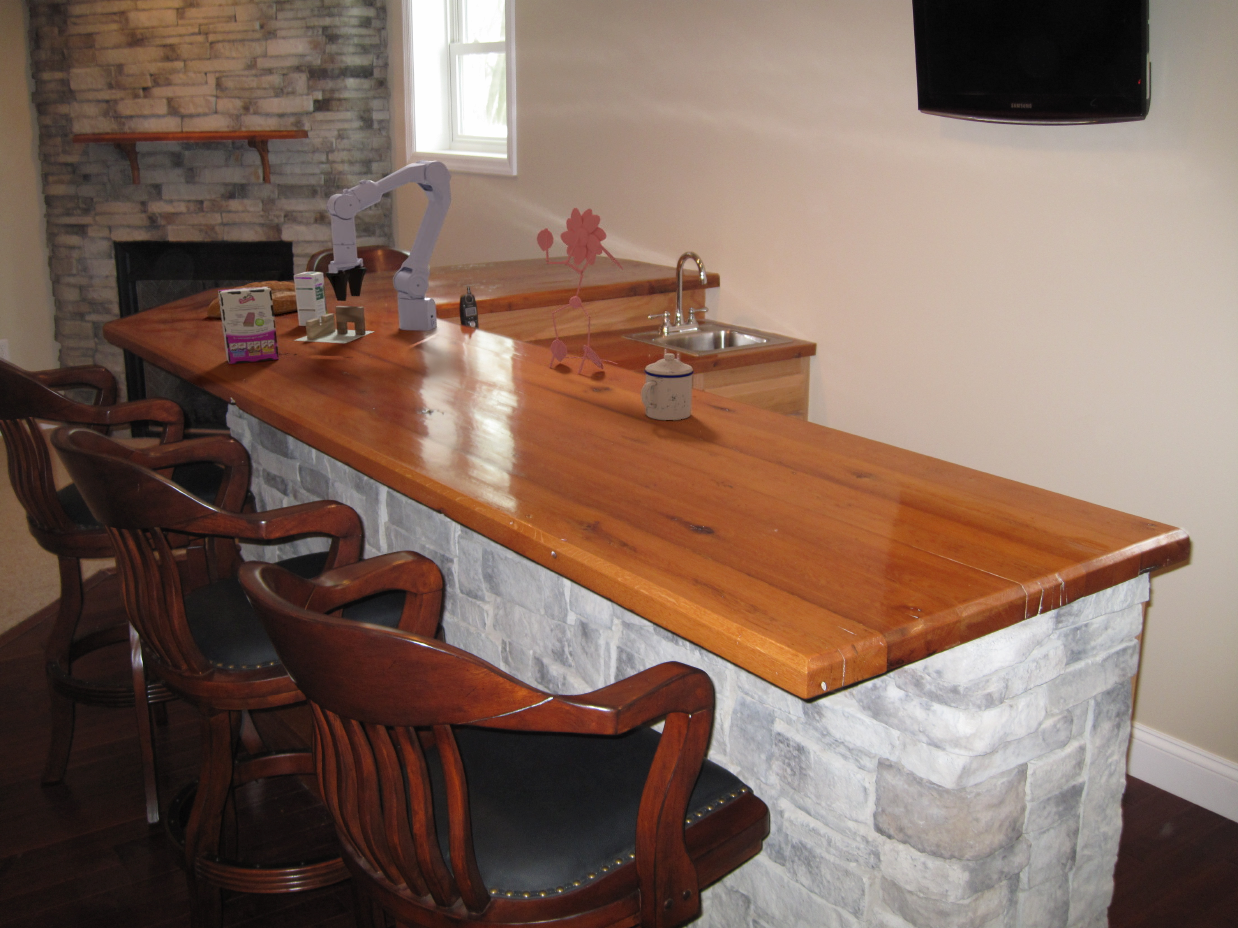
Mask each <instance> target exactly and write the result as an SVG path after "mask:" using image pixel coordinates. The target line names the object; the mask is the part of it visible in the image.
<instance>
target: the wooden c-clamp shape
mask: <svg viewBox="0 0 1238 928" xmlns="http://www.w3.org/2000/svg"><path fill="white" fill-rule="evenodd" d="M334 310H335V311H334V312H335V320H336V321H335V324H336V329H337V334H347V333H348V330H349V329H348V323H351V324H352V323H354V324H353V325H354V330H355V335H365V334H366V331H367V330H366V322H365V321H366V320H365V307H364V306H352V305H350V306H349V305H337V306H335V309H334ZM365 336H366V335H365Z"/></svg>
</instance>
